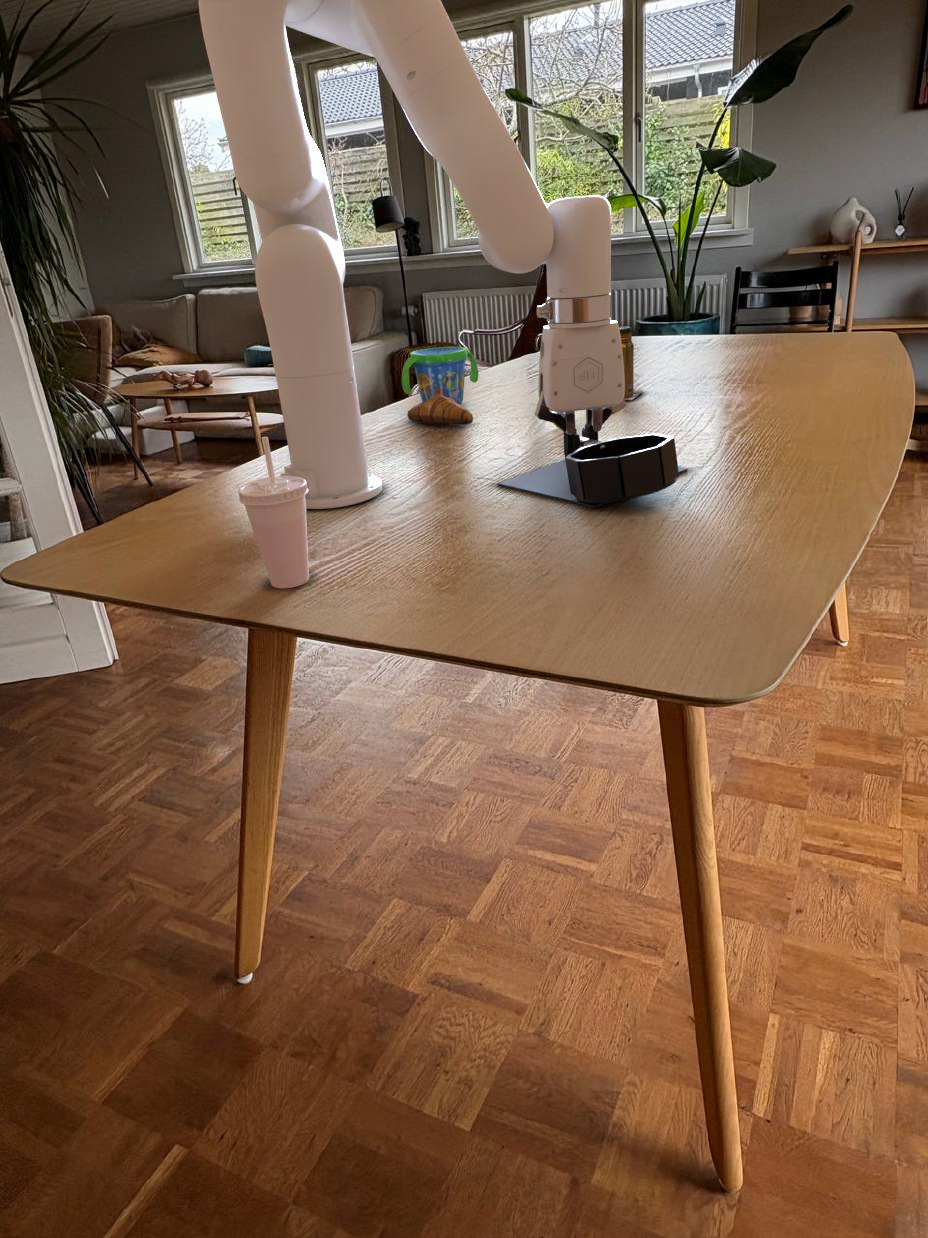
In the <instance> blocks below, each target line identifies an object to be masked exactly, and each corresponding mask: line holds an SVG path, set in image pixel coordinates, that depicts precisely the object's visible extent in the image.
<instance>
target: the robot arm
mask: <svg viewBox="0 0 928 1238" xmlns="http://www.w3.org/2000/svg"><path fill="white" fill-rule="evenodd" d="M197 2H198V12H199V18H200V25H201V30H202V35H203V40H204V45H205V49H206V53H207V59H208V62H209V66H210V70H211V74H212V79H213V83H214V89H215V94H216V98H217V99H216V100H217V102H218V107H219V110H220V111H219V112H220V115H221V119H222V123H223V127H224V131H225V135H226V140H227V144H228V149H229V152H230V158H231V162H232V168H233V173H234V176H235V179H236V182H237V184H238V186H239V188H240V189H241V191H242V192H243V194H244V195H245V196H246V198H248V199H249V200H250V202H252V205H253V208H254V209H253V210H254V212H255V213H254V214H255V216H256V221H257V223H258V224H257V225H258V228H259V232H260V236H261V240H262V243H261V244H260V246H259V248H258V251H257V254H256V258H255V263H254V264H255V265H254V276H255V277H254V278H255V285H256V291H257V296H258V299H259V304H260V308H261V312H262V317H263V320H264V324H265V329H266V333H267V337H268V343H269V348H270V352H271V359H272V363H273V369H274V376H275V379H276V383H277V385H276V386H277V391H278V396H279V401H280V408H281V413H282V419H283V426H284V430H285V431H284V432H285V436H286V441H287V442H286V443H287V448H288V453H289V454H288V455H289V459H290V464H288V465H284V466H283V469H284V472H283V473H281V474H280V475H279V476H296V477H301V478H303V479H305V480H306V483H307V488H308V493H307V494H306V495H305V500H306V510H324V509H325V510H327V509H335V508H342V507H348V506H349V507H350V506H353V505H357V504H360V503H363V502H366V501H368V500H371V499H373V498H376V496H377V497H378V495H380V494H381V493H382V490H383V483H382V479H381V478H379V477H378V476H376V475H374V474H369V467H368V459H367V452H366V445H365V437H364V429H363V423H362V415H361V407H360V400H359V392H358V384H357V377H356V370H355V364H354V355H353V349H352V341H351V334H350V327H349V321H348V314H347V307H346V301H345V293H344V282H345V277H346V261H345V255H344V251H343V250H344V249H343V245H342V241H341V237H340V232H339V227H338V223H337V218H336V212H335V208H334V204H333V198H332V194H331V190H330V184H329V180H328V176H327V171H326V167H325V164H324V163H325V162H324V160H323V157H322V154H321V151H320V149H319V148H318V147H319V146H317V144H316V143H315V141H314V139H313V138H312V136H311V135H310V132H309V129H308V127H307V123H306V119H305V116H304V111H303V106H302V102H301V97H300V94H299V90H298V84H297V77H296V73H295V72H296V71H295V67H294V62H293V59H292V55H291V51H290V46H289V40H288V35H287V28H286V27H289V28H291V29H293V30H295V31H298V32H300V33H301V32H302V33H303V34H306V35H309V36H312V37H315V38H318V39H319V40H323V41H326V42H329V43H332V44H334V45H336V46H340V47H342V48H343V49H344V48H345V49H348V50H350V51H353V52H356V53H360V54H363V55H366V56H369V57H373V58H375V60H376V62H377V64H378V66H379V67H380V69H381V72H382V73H383V75H384V76H385V78H386V80H387V82H388V84H389V86H390V88H391V90H392V92H393V94H394V95H395V97H396V99H397V101H398V103H399V105H400V106H401V108H402V110H403V112H404V114H405V116H406V118H407V120H408V122H409V124H410V126H411V128H412V129H413V131H414V133H415V135H416V136H417V138H418V140H419V142H420V143H421V145H422V146H423V147H424V149H425V150H426V151H427V152H428V153H429V154H430V155H431V156H432V158H434V159H435V160H436V162H437V163H438V164H439V165H440V167H441V168H442V169H443V170H444V172H445V174H446V175H447V176H448V178H449V180H450V181H451V184H453V186H454V188H455V190H456V192H457V193H458V195H459V196H460V198H461V200H462V202H463V204H464V206H465V208H466V210H467V211H468V214H469V215H470V216H471V219H472V221H473V222H474V225H475V226H476V228H477V230H478V233H477V234H478V237H477V239H478V245H479V250H480V252H481V254H482V256H483V257H484V259H485V260H486V262H488V263H489V264H490V265H491V266H493V267H494V268H496V269H497V270H499V271H503V272H506V273H512V274H527V273H529V272H530V273H531V272H532V271H535V270H536V269H537V268H539V267H540V266H541V265H545V266H546V288H547V289H546V293H547V294H546V295H547V298H545V303H543V304H542V305H537V306H536V310H535V311H536V316H537V318H539V319H540V318H543V319H546V322H547V325H543V328H542V333H541V339H540V347H539V359H538V376H537V377H538V379H537V384H538V385H537V387H538V389H537V390H538V391H537V392H538V401H537V404H536V408H535V411H534V416H535V418H536V419H539V420H540V421H545V422H549V423H551V422H553V423H555V424H556V425H557V426H558V427H557V428H559V429H560V430H561V431H562V432H563V455H564V457H565V456H567V455H569V454H571V453H573V452H574V451H576V450H578V449H580V437H585V438H589V439H593V440H597V441H599V432H600V431H602V429H603V425H604V424H605V423H606V422H607V420H609V418H610V417H611V416H612V415H614V414H616V413H619V412H621V411H622V410H624V409H625V408H626V406H627V404H626V400H624V394H625V377H624V362H623V352H622V344H621V337H620V331H619V326H620V325H619V322H618V321H617V320H612V208H611V204H610V202H609V200H608V199H607V198H606V197H604V196H602V195H582V196H571V197H563V198H557V199H555V200H552V201H551V202H545V200H544V198H543V196H542V194H541V191H540V190H539V188H538V186H537V183H536V182H535V180H534V178H533V175H532V173H531V171H530V169H529V167H528V165H527V162H526V161H525V159H524V157H523V156H522V154H521V152H520V150H519V148H518V146H517V144H516V143H515V140H514V139H513V137H512V135H511V134H510V132H509V130H508V129H507V127H506V126H505V124H504V122H503V120H502V118H501V116H500V115H499V113H498V111H497V108H496V107H495V105H494V103H493V101H492V100H491V98H490V97H489V94H488V93H487V91H486V90H485V88H484V86H483V84H482V82H481V79H480V78H479V76H478V74H477V72H476V70H475V68H474V66H473V64H472V62H471V59H470V58H469V57H468V54H467V52H466V50H465V47H464V45H463V44H462V42H461V40H460V38H459V36H458V33H457V32H456V29H455V27H454V25H453V23H452V21H451V19H450V17H449V14H448V13H447V11H446V8H445V7H444V5H443V2H442V0H197ZM549 409H550V410H552V411H554V412H552V411H550V410H549ZM578 411H585V424H584V427H583V428H582V429H581V435H580V434H579V433H577V428H576V413H575V412H578ZM557 412H559V414H558V413H557ZM553 423H552V424H553Z"/></svg>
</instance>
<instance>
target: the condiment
mask: <svg viewBox="0 0 928 1238" xmlns="http://www.w3.org/2000/svg"><path fill="white" fill-rule="evenodd" d="M618 326H619V331H620V337H621V344H622V352H623V362H624V377H625V394H624V400H625V401H632V400H634V399H635V398H637V397H638V396H639V395H641V394H642V393H643V392H644V391H645V389H641V390H634V381H635V380H634V379H635V378H634V370H635V369H634V364H635V363H634V358H635V353H634V352H635V345H634V342H633V340H632V339H633V337H632V331H633V329H632V327H630V326H627V325H626V326H625V325H624V326H623V325H621V326H620V325H618Z"/></svg>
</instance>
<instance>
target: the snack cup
mask: <svg viewBox="0 0 928 1238" xmlns="http://www.w3.org/2000/svg"><path fill="white" fill-rule="evenodd" d="M467 358H468V359H469V362H470V373H469V380H470V382H471V383H477V382H478V381H479V375H480V374H479V367H478V363H477V360H476V358H475V356H474V354H473V353H472V352H471V351H470V350H468V348H466V347H462V346H442V347H440V346H439V347H429V348H422V349H418V350H413V351H411V352H410V353H409V358H407V359H406V361H405V362H404V363H403V364H404V365H403V367H402V372H401V387H402V390H403V392H404V393H405V394H406V395H411V394H412V388H411V380H410V368H411V367H412V366H413V369H414V373H415V377H416V382H417V385H418V391H419V395H420V398H421V403H422V402H426V401H427V400H428V399H429V398H431V397H433V396H435V395H437V394H439V395H442V396H445V397H447V398H451V399H454V400H455V401H456V403H457V404H460V405H461V406H462V404H463V401H464V390H465V376H466V374H465V373H466V370H465V369H466V368H465V367H466V362H467Z"/></svg>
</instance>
